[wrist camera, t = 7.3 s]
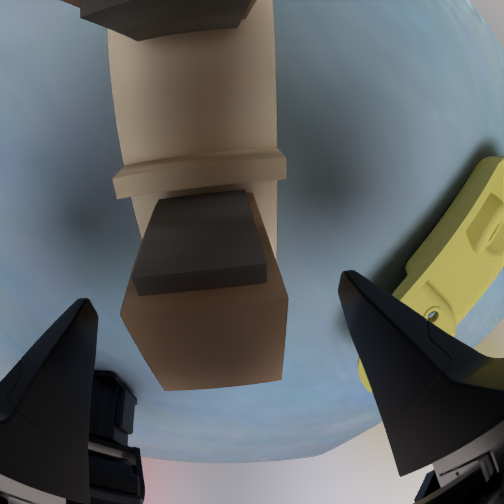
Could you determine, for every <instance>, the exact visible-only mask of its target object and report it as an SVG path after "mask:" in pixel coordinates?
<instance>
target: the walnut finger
mask: <svg viewBox="0 0 504 504" xmlns="http://www.w3.org/2000/svg"><path fill="white" fill-rule="evenodd" d="M287 311H288V295H287V292H286V289H285V286H284V283H283V280H282V277H281V274H280V271H279V268H278V265H277V262H276V259H275V256H274V253H273V250H272V247H271V244H270V241H269V238H268V235H267V232H266V229H265V226H264V223H263V220H262V217H261V215H260V212H259V209H258V206H257V203H256V200H255V197H254V194H253V193H246V191H245V189H243V190H232V191H222V192H213V193H204V194H196V195H188V196H180V197H172V198H165V199H158V202H157V204H156V205H155V207H154V210H153V212H152V215H151V218H150V220H149V223H148V226H147V229H146V231H145V234H144V237H143V240H142V243H141V246H140V249H139V252H138V255H137V258H136V261H135V264H134V267H133V270H132V273H131V277H130V280H129V283H128V287H127V290H126V293H125V297H124V301H123V304H122V308H121V312H120V316H121V318H122V320H123V322H124V324H125V326H126V327H127V329H128V331H129V333H130V335H131V337H132V338H133V340H134V342H135V344H136V345H137V347H138V349H139V351H140V352H141V354H142V356H143V357H144V359H145V361H146V362H147V364H148V366H149V367H150V369H151V371H152V372H153V374H154V375H155V377H156V378H157V380H158V381H159V383H160V385H161V386H162V388H163V389H164V391H175V390H196V389H211V388H223V387H233V386H242V385H250V384H258V383H265V382H271V381H278V380H281V379H282V369H283V359H284V348H285V336H286V324H287Z"/></svg>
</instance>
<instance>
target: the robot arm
mask: <svg viewBox="0 0 504 504" xmlns="http://www.w3.org/2000/svg"><path fill="white" fill-rule="evenodd" d="M338 294H339V298H340V301H341V305H342V308H343V311H344V315H345V319H346V322H347V326H348V329H349V332H350V335H351V337H352V340H353V342H354V345H355V347H356V350H357V352H358V355H359V357H360V360H361V363H362V365H363V368H364V370H365V373H366V376H367V378H368V381H369V384H370V387H371V389H372V392H373V395H374V398H375V400H376V403H377V406H378V409H379V412H380V415H381V418H382V421H383V423H384V427H385V429H386V433H387V436H388V439H389V443H390V445H391V449H392V452H393V455H394V459H395V462H396V466H397V469H398V472H399V475H400V477H401V476H404V475H406V474H409V473H411V472H414V471H416V470H418V469H421V468H423V467H425V466H427V465H429V464H433V467H434V470H432V471H431V472H429V473H427V474H426V477H425V479H424V481H423V483H422V485H421V487H420V490H419V491H418V494H417V496H416V498H415V499H414V501H415V503H413V504H504V358H491V357H487V356H485V355H483V354H481V353H479V352H477V351H476V350H474V349H473V348H471V347H469V346H468V345H466V344H464V343H463V342H461V341H459V340H458V339H456V338H454V337H453V336H451V335H449V334H448V333H446V332H445V331H443V330H442V329H440V328H439V327H437V326H436V325H435V324H433V323H432V322H430V321H429V320H427V319H426V318H424V317H423V316H422V315H420V314H419V313H417V312H416V311H414V310H413V309H412V308H410V307H409V306H407V305H406V304H404V303H403V302H401V301H400V300H398V299H397V298H395V297H394V296H392V295H391V294H389V293H388V292H386V291H385V290H383V289H382V288H380V287H379V286H377V285H376V284H374V283H373V282H371V281H370V280H368V279H367V278H365V277H364V276H362V275H361V274H359V273H358V272H356V271H354V270H348V271H343V272H342V274H341V278H340V283H339V287H338ZM97 329H98V315H97V312H96V310H95V309H94V307H93V305H92V303H91V301H90V300H89V299H88V298H80V299H77V300H76V301H75V302H74V303H73V304H72V305H71V306H70V307H69V308H68V309H67V310H66V311H65V312H64V313H63V314H62V315H61V316H60V317H59V318H58V319H57V320H56V321H55V322H54V323H53V324H52V325H51V326H50V328H49V329H48V330H47V331H46V332H45V333H44V334H43V335H42V336H41V337H40V338H39V339H38V340H37V341H36V342H35V344H34V345H33V346H32V347H31V348H30V349H29V350H28V351H27V352H26V354H25V355H24V356H23V357H22V358H21V360H19V361H18V363H17V364H16V365H15V366H14V367H13V368H12V370H11V371H10V372H9V373H8V374H7V375H6V376H5V377H4V378H3V379H2V381H1V382H0V504H143V501H144V496H145V486H144V478H143V471H142V465H141V456H140V448H137V447H129V446H128V434H132V433H133V420H134V407H135V405H137V400H136V399H135V398H134V396H133V395H132V394H131V393H130V392H129V391H128V389H127V388H126V387H125V386H124V385H123V383H122V382H121V381H120V380H119V378H118V377H117V376H116V375H115V374H114V373H111V372H94V365H95V357H96V344H97Z"/></svg>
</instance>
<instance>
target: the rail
mask: <svg viewBox="0 0 504 504" xmlns="http://www.w3.org/2000/svg"><path fill="white" fill-rule="evenodd" d="M61 1H64V2H66V3H69V4H72V5H74V6H76V7H79V8H80V18H82V19H85V20H88V21H90V22H93V23H96V24H98V25H101V26H103V27H106V28H108V50H109V65H110V76H111V86H112V95H113V103H114V110H115V117H116V124H117V130H118V136H119V142H120V147H121V153H122V158H123V163H124V166H123V167H122V168H121V169H120V170H119V171H118V173H117V174H116V175H115V176H114V177H113V178H112V180H113V184H114V188H115V192H116V196H117V199H122V198H128V197H131V199H132V203H133V207H134V211H135V215H136V219H137V223H138V227H139V230H140V234H141V238H142V240H143V237H144V234H145V231H146V229H147V226H148V223H149V220H150V218H151V215H152V212H153V210H154V207H155V205H156V204H157V202H158V199H165V198H172V197H180V196H188V195H196V194H204V193H213V192H222V191H232V190H243V189H245V191H246V193H253V194H254V197H255V200H256V203H257V206H258V209H259V212H260V215H261V217H262V220H263V223H264V226H265V229H266V232H267V235H268V238H269V241H270V244H271V247H272V250H273V253H274V256H275V259H276V248H277V180H286V168H287V158H286V157H285V156H284V155H283V153H282V152H281V151H280V150H279V149H278V148H277V104H276V63H275V35H274V12H273V0H61Z"/></svg>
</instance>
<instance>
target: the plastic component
mask: <svg viewBox="0 0 504 504" xmlns="http://www.w3.org/2000/svg"><path fill="white" fill-rule="evenodd" d="M503 266H504V156H489V157H485V158H483V159H482V160H481V161H480V162H479V163H478V164H477V165H476V167H475V168H474V170H473V172H472V173H471V175H470V176H469V178H468V180H467V181H466V183H465V184H464V186H463V187H462V189H461V190H460V192H459V193H458V195H457V196H456V198H455V199H454V201H453V202H452V204H451V205H450V207H449V208H448V210H447V211H446V212H445V214H444V215H443V217H442V218H441V219H440V221H439V222H438V224H437V225H436V226H435V228H434V229H433V230H432V232H431V233H430V234H429V235H428V237H427V238H426V239H425V241H424V242H423V243H422V244H421V246H420V247H419V248H418V250H417V251H416V252H415V253H414V254H413V256H412V257H411V258H410V259H409V261H408V262H407V264H406V272H407V274H408V275H407V277H406V278H405V279H404V281H403V282H402V283H401V284H400V285H399V286H398V287H397V289H396V290H395V291H394V292H393V294H392V296H394V297H395V298H397V299H398V300H400V301H401V302H403V303H404V304H406V305H407V306H409V307H410V308H412V309H413V310H414V311H416V312H417V313H419V314H420V315H422V316H423V317H424V318H426V319H427V320H429V321H430V322H432V323H433V324H435V325H436V326H437V327H439V328H440V329H442V330H443V331H445V332H446V333H448V334H449V335H451V336H453V337H454V336H455V332H456V326H457V324H458V323H459V322H460V321H461V320H462V319H463V318H464V317H465V315H466V314H467V313H468V312H469V311H470V310H471V308H472V307H473V306H474V305H475V304H476V302H477V301H478V300H479V299H480V297H481V296H482V295H483V294H484V292H485V291H486V290H487V288H488V287H489V286H490V285H491V283H492V282H493V280H494V279H495V278H496V276H497V275H498V274H499V272H500V271H501V269H502V268H503ZM432 311H435V314H434V316H432V317H431V318H427V317H428V315H429V314H430V313H431V312H432ZM358 372H359V376H360V379H361V382H362V383H363V385H364V386H365V388H366V389H368V390H369V391H370V392H371V393H372V394H373V392H372V389H371V387H370V384H369V381H368V378H367V376H366V373H365V370H364V368H363V365H362V363H361V360H360V357H359V359H358Z"/></svg>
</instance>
